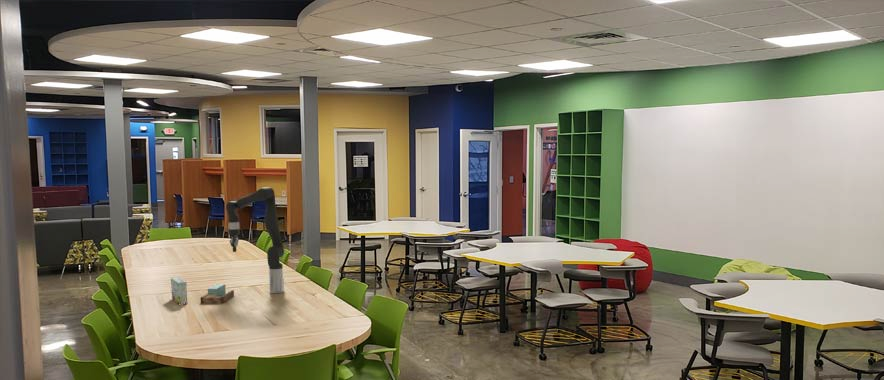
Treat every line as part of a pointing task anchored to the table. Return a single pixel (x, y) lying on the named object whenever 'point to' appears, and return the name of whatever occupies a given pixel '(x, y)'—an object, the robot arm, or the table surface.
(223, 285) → the block
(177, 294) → the snack box
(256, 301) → the table surface
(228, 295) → the brown u-shaped block
